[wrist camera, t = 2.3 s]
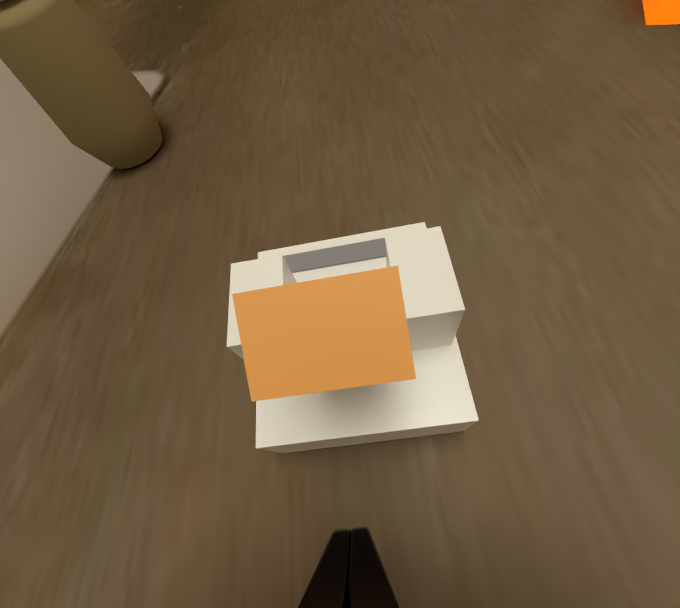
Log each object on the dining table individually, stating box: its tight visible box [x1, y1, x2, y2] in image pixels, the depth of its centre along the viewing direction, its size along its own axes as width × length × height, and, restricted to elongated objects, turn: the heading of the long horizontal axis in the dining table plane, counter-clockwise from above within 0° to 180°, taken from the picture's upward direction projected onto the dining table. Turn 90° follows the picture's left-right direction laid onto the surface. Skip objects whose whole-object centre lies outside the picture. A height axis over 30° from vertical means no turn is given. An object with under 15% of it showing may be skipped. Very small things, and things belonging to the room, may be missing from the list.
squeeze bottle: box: [0, 0, 162, 169], centre depth 26 cm, size 8×8×18 cm
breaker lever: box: [232, 266, 416, 402], centre depth 13 cm, size 3×4×9 cm
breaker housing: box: [227, 222, 479, 453], centre depth 18 cm, size 11×10×8 cm
